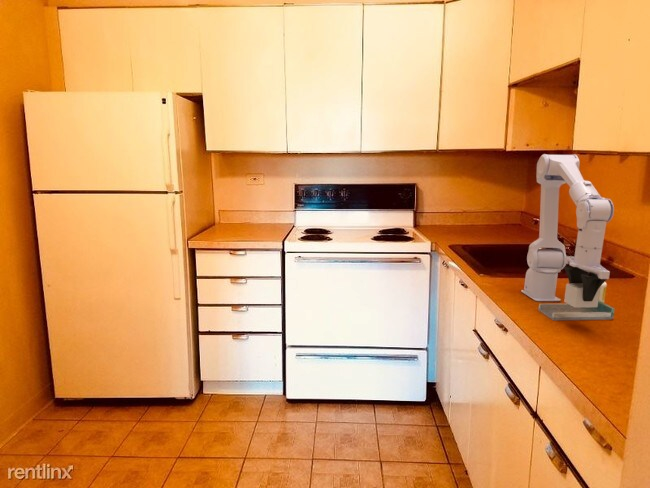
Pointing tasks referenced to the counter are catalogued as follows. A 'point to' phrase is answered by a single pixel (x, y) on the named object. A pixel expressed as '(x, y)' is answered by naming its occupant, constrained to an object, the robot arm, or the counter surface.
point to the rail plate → (577, 312)
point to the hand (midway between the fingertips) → (581, 297)
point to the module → (578, 296)
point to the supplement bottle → (602, 292)
